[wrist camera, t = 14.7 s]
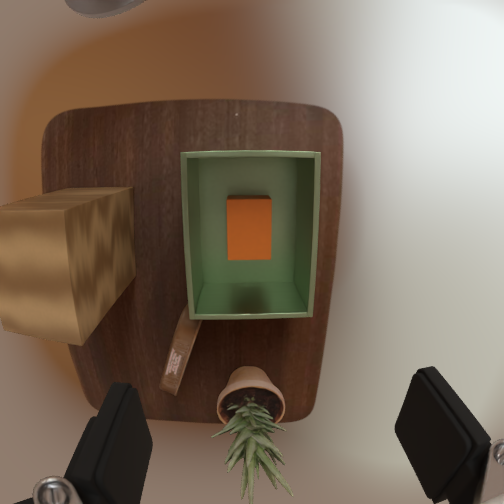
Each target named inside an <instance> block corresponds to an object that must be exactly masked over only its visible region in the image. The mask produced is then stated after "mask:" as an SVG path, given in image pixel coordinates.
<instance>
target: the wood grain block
mask: <svg viewBox="0 0 504 504" xmlns="http://www.w3.org/2000/svg"><path fill="white" fill-rule="evenodd" d="M135 276H136V263H135V241H134V187H87V188H67V189H62V190H58V191H54V192H50V193H46V194H42V195H39V196H35V197H31V198H27V199H24V200H20V201H17V202H13V203H10V204H6V205H3V206H0V318H1V321H2V325H3V328H4V330H5V331H10V332H14V333H18V334H23V335H28V336H32V337H37V338H42V339H46V340H52V341H57V342H62V343H68V344H74V345H80V346H83V344H84V343H85V342H86V340H87V339H88V337H89V336H90V335H91V333H92V332H93V331H94V329H95V328H96V327H97V325H98V324H99V323H100V321H101V320H102V319H103V317H104V316H105V315H106V313H107V312H108V311H109V309H110V308H111V307H112V306H113V304H114V303H115V302H116V300H117V299H118V298H119V296H120V295H121V294H122V293H123V291H124V290H125V289H126V288H127V286H128V285H129V284H130V283H131V281H132V280H133V279H134V278H135Z"/></svg>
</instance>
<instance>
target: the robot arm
mask: <svg viewBox="0 0 504 504" xmlns="http://www.w3.org/2000/svg"><path fill="white" fill-rule="evenodd" d="M395 433H396V435H397V437H398V439H399V441H400V443H401V445H402V447H403V449H404V451H405V453H406V455H407V457H408V459H409V461H410V463H411V465H412V467H413V469H414V471H415V473H416V475H417V477H418V479H419V481H420V483H421V485H422V487H423V490H424V492H425V494H426V496H427V497H428V498H429V499H432V501H433V503H434V504H436V503H439V502H441V501H444V500H446V499H448V501H449V504H504V439H499V440H497V441H495V442H494V443H493V444H491V443H490V440H491V438H490V437H489V435H488V434H487V433H486V431H485V430H484V429H483V427H482V426H481V425H480V423H479V422H478V421H477V419H476V418H475V417H474V415H473V414H472V413H471V412H470V410H469V409H468V408H467V406H466V405H465V404H464V403H463V401H462V400H461V399H460V398H459V396H458V395H457V394H456V392H455V391H454V390H453V389H452V388H451V386H450V385H449V384H448V383H447V381H446V380H445V379H444V378H443V376H442V375H441V374H440V373H439V372H438V370H437V369H436V368H435V367H433V366H431V367H426V368H421V369H418V370H417V372H416V374H414V375H413V377H412V380H411V383H410V386H409V389H408V391H407V394H406V397H405V400H404V403H403V405H402V408H401V411H400V413H399V416H398V418H397V421H396V424H395ZM152 443H153V442H152V438H151V435H150V432H149V428H148V425H147V422H146V419H145V415H144V412H143V409H142V405H141V402H140V398H139V394H138V391H137V389H136V388H132V385H131V384H129V383H119V382H114V383H112V385H111V387H110V389H109V391H108V393H107V395H106V398H105V400H104V402H103V404H102V406H101V408H100V410H99V413H98V415H97V417H92V418H90V420H89V422H88V424H87V426H86V428H85V430H84V432H83V434H82V437H81V439H80V441H79V443H78V445H77V448H76V450H75V452H74V454H73V457H72V459H71V461H70V463H69V466H68V468H67V470H66V473H65V475H64V477H63V478H62V477H60V476H49V477H45V478H43V479H41V480H40V481H39V482H38V483H37V484H36V485H35V487H34V489H33V494H32V495H33V497H32V498H29V499H26V500H23V501H20V502H17V503H14V504H140V500H141V495H142V491H143V486H144V481H145V478H146V473H147V469H148V465H149V460H150V456H151V452H152V446H153V444H152Z"/></svg>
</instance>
